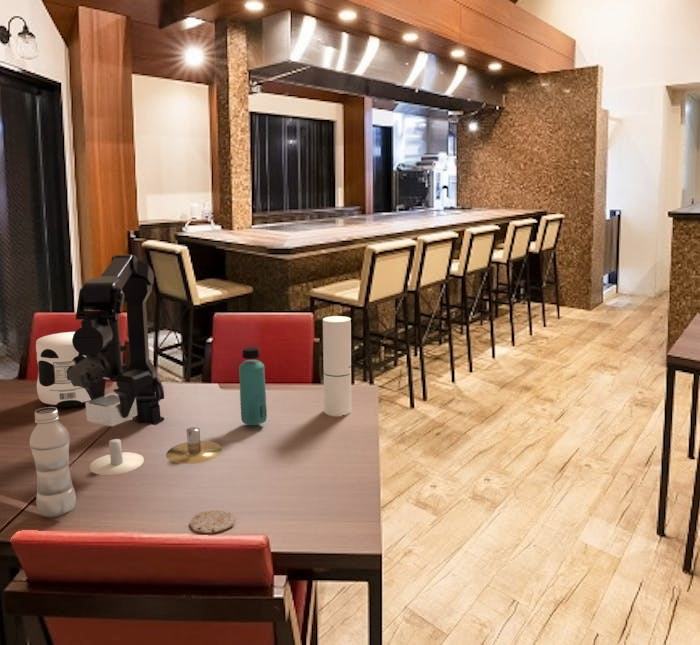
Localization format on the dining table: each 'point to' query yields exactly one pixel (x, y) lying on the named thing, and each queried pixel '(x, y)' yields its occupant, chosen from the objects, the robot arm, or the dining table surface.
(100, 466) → the stand
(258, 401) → the beverage bottle
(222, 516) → the flatbread
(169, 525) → the dining table surface
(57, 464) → the plastic bottle
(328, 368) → the cylindrical container
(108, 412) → the collar
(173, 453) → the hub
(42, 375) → the milk container
